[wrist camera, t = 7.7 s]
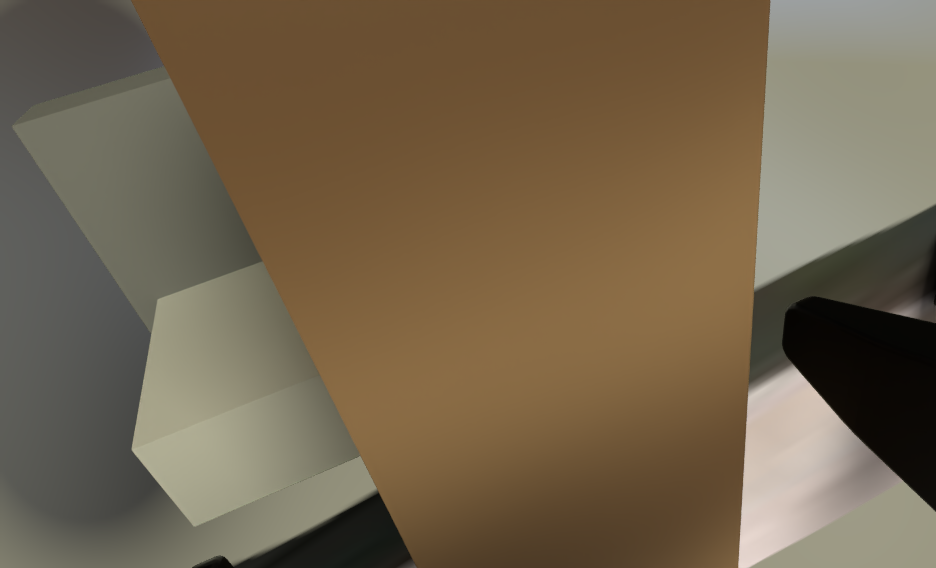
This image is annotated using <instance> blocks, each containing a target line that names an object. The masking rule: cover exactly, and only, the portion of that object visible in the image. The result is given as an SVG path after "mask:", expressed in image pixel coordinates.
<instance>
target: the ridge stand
mask: <svg viewBox="0 0 936 568" xmlns="http://www.w3.org/2000/svg"><path fill="white" fill-rule="evenodd" d="M12 128H13V129H14V131H15V132H16V134H17V135H18V137H19V138H20V140H21V141H22V143H23V144H24V146H25V147H26V149H27V150H28V152H29V153H30V154H31V156H32V158H33V159H34V161H35V162H36V163H37V165H38V166H39V168H40V169H41V171H42V172H43V174H44V175H45V177H46V178H47V180H48V181H49V183H50V184H51V186H52V187H53V189H54V190H55V192H56V193H57V195H58V196H59V198H60V199H61V201H62V202H63V203H64V205H65V207H66V208H67V209H68V211H69V213H70V214H71V215H72V217H73V219H74V220H75V222H76V223H77V224H78V226H79V228H80V229H81V230H82V232H83V233H84V235H85V236H86V238H87V239H88V241H89V242H90V244H91V245H92V247H93V248H94V250H95V251H96V253H97V254H98V256H99V257H100V259H101V260H102V262H103V263H104V265H105V266H106V268H107V269H108V270H109V272H110V274H111V275H112V277H113V278H114V280H115V281H116V283H117V284H118V286H119V287H120V289H121V290H122V291H123V293H124V294H125V296H126V297H127V299H128V300H129V302H130V303H131V305H132V306H133V308H134V309H135V311H136V312H137V314H138V315H139V317H140V318H141V320H142V321H143V323H144V324H145V326H146V327H147V329H148V330H149V332H150V333H151V341H150V346H149V352H148V359H147V364H146V369H145V375H144V382H143V387H142V393H141V398H140V404H139V410H138V416H137V422H136V427H135V433H134V439H133V445H132V451H133V452H134V453H135V455H136V456H137V457H138V458H139V459H140V461H141V462H142V463H143V465H144V466H145V467H146V468H147V469H148V471H149V472H150V473H151V474H152V476H153V477H154V478H155V479H156V481H157V482H158V483H159V484H160V485H161V487H162V488H163V489H164V490H165V492H166V493H167V494H168V495H169V496H170V498H171V499H172V500H173V501H174V503H175V504H176V505H177V506H178V507H179V509H180V510H181V511H182V513H183V514H184V515H185V516H186V517H187V519H188V520H189V521H190V522H191V524H192V525H193V526H194V527H195V526H198V525H200V524H202V523H204V522H207V521H209V520H212V519H214V518H216V517H219V516H221V515H223V514H226V513H228V512H230V511H233V510H235V509H237V508H240V507H242V506H244V505H247V504H249V503H251V502H254V501H256V500H258V499H261V498H263V497H265V496H267V495H270V494H272V493H275V492H277V491H279V490H282V489H284V488H286V487H289V486H291V485H294V484H296V483H298V482H301V481H303V480H305V479H307V478H310V477H312V476H315V475H317V474H319V473H322V472H324V471H326V470H328V469H331V468H333V467H335V466H337V465H340V464H342V463H345V462H347V461H349V460H352V459H354V458H357V457H359V456H360V454H359V452H358V450H357V448H356V446H355V444H354V442H353V440H352V438H351V436H350V434H349V432H348V430H347V428H346V426H345V424H344V422H343V420H342V418H341V416H340V414H339V412H338V410H337V408H336V406H335V404H334V402H333V400H332V398H331V396H330V394H329V392H328V390H327V388H326V386H325V384H324V382H323V380H322V378H321V376H320V374H319V372H318V370H317V368H316V366H315V364H314V362H313V360H312V358H311V356H310V354H309V352H308V350H307V348H306V346H305V344H304V342H303V340H302V338H301V336H300V334H299V332H298V331H297V329H296V327H295V325H294V323H293V321H292V319H291V317H290V315H289V313H288V311H287V309H286V307H285V305H284V303H283V301H282V299H281V297H280V295H279V293H278V291H277V289H276V287H275V285H274V283H273V281H272V279H271V277H270V275H269V273H268V271H267V269H266V267H265V265H264V263H263V261H262V259H261V257H260V255H259V253H258V251H257V249H256V247H255V245H254V243H253V241H252V239H251V237H250V235H249V233H248V231H247V229H246V227H245V225H244V223H243V221H242V219H241V217H240V215H239V213H238V211H237V209H236V207H235V205H234V203H233V201H232V199H231V198H230V196H229V194H228V192H227V190H226V188H225V186H224V184H223V182H222V180H221V178H220V176H219V174H218V172H217V170H216V168H215V166H214V164H213V162H212V160H211V158H210V156H209V154H208V152H207V150H206V148H205V146H204V144H203V142H202V140H201V138H200V136H199V134H198V132H197V130H196V128H195V126H194V124H193V122H192V120H191V118H190V116H189V114H188V112H187V110H186V108H185V106H184V104H183V102H182V100H181V98H180V96H179V94H178V92H177V90H176V88H175V86H174V84H173V82H172V80H171V78H170V76H169V74H168V72H167V70H166V68H165V66H164V67H161V68H157V69H154V70H151V71H147V72H144V73H140V74H137V75H134V76H130V77H127V78H124V79H121V80H117V81H114V82H110V83H107V84H104V85H100V86H97V87H94V88H90V89H87V90H84V91H80V92H77V93H73V94H70V95H67V96H64V97H60V98H57V99H54V100H50V101H47V102H43V103H41V104H37V105H34V106H32V107H31V108H30V109H29V110H28V111H27V112H26V113H25V114H24V115H23V116H22V117H21V118H20V119H19V120H17V121H16V122H15V124H13V125H12Z"/></svg>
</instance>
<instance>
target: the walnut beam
mask: <svg viewBox="0 0 936 568" xmlns="http://www.w3.org/2000/svg"><path fill="white" fill-rule="evenodd" d="M131 1H132V3H133V5H134V7H135V9H136V11H137V13H138V15H139V17H140V19H141V21H142V23H143V25H144V27H145V29H146V30H147V33H148V35H149V37H150V39H151V41H152V42H153V44H154V47H155V49H156V50H157V52H158V55H159V57H160V59H161V60H162V62H163V64H164V66H165V68H166V70H167V72H168V74H169V76H170V78H171V80H172V82H173V84H174V86H175V88H176V90H177V92H178V94H179V96H180V98H181V100H182V102H183V104H184V106H185V108H186V110H187V112H188V114H189V116H190V118H191V120H192V122H193V124H194V126H195V128H196V130H197V132H198V134H199V136H200V138H201V140H202V142H203V144H204V146H205V148H206V150H207V152H208V154H209V156H210V158H211V160H212V162H213V164H214V166H215V168H216V170H217V172H218V174H219V176H220V178H221V180H222V182H223V184H224V186H225V188H226V190H227V192H228V194H229V196H230V198H231V199H232V201H233V203H234V205H235V207H236V209H237V211H238V213H239V215H240V217H241V219H242V221H243V223H244V225H245V227H246V229H247V231H248V233H249V235H250V237H251V239H252V241H253V243H254V245H255V247H256V249H257V251H258V253H259V255H260V257H261V259H262V261H263V263H264V265H265V267H266V269H267V271H268V273H269V275H270V277H271V279H272V281H273V283H274V285H275V287H276V289H277V291H278V293H279V295H280V297H281V299H282V301H283V303H284V305H285V307H286V309H287V311H288V313H289V315H290V317H291V319H292V321H293V323H294V325H295V327H296V329H297V331H298V332H299V334H300V336H301V338H302V340H303V342H304V344H305V346H306V348H307V350H308V352H309V354H310V356H311V358H312V360H313V362H314V364H315V366H316V368H317V370H318V372H319V374H320V376H321V378H322V380H323V382H324V384H325V386H326V388H327V390H328V392H329V394H330V396H331V398H332V400H333V402H334V404H335V406H336V408H337V410H338V412H339V414H340V416H341V418H342V420H343V422H344V424H345V426H346V428H347V430H348V432H349V434H350V436H351V438H352V440H353V442H354V444H355V446H356V448H357V450H358V452H359V454H360V456H361V457H362V460H363V461H364V463H365V465H366V467H367V469H368V471H369V473H370V475H371V477H372V479H373V481H374V483H375V485H376V487H377V489H378V491H379V493H380V495H381V497H382V499H383V501H384V503H385V505H386V507H387V509H388V511H389V513H390V515H391V517H392V519H393V521H394V523H395V525H396V527H397V529H398V531H399V533H400V535H401V537H402V539H403V541H404V543H405V545H406V547H407V549H408V551H409V553H410V555H411V557H412V559H413V561H414V563H415V565H416V567H417V568H738V560H739V543H740V525H741V507H742V490H743V472H744V455H745V437H746V420H747V402H748V384H749V367H750V349H751V332H752V314H753V296H754V278H755V259H756V244H757V225H758V207H759V190H760V173H761V156H762V138H763V120H764V103H765V85H766V67H767V50H768V33H769V13H770V0H131Z"/></svg>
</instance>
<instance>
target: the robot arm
mask: <svg viewBox="0 0 936 568" xmlns="http://www.w3.org/2000/svg"><path fill="white" fill-rule="evenodd" d="M934 305H935V306H936V295H935V299H934ZM782 346H783V350H784V352H785V354H786V356H787V357H788V359H789V360H790V361H791V362H792V364H793V365H794V366H795V367H796V368H797V369H798V371H799V372H800V373H801V374H802V375H803V376H804V377H805V379H806V380H807V381H808V382H809V383H810V384H811V385H812V387H813V388H814V389H815V390H816V391H817V392H818V394H819V395H820V396H821V397H822V398H823V399H824V400H825V402H826V403H827V404H828V405H829V406H830V407H831V408H832V410H833V411H834V412H835V413H836V414H837V415H838V417H839V418H840V419H841V420H842V421H843V422H844V423H845V424H846V425H847V427H848V428H849V429H850V430H851V431H852V432H853V433H854V434H855V435H856V436H857V437H858V438H859V439H860V440H861V441H862V442H863V443H864V444H865V445H866V446H867V447H868V448H869V449H870V450H871V451H872V452H873V453H875V454H876V455H877V456H878V457H879V458H880V459H881V460H882V461H883V462H884V463H885V464H886V465H887V466H888V467H889V468H890V469H891V470H892V471H893V472H895V473H896V474H897V475H898V476H899V477H900V478H901V479H902V480H903V481H904V482H905V483H906V484H907V485H908V486H909V487H910V488H911V489H912V490H913V491H915V492H916V493H917V494H918V495H919V496H920V497H921V498H922V499H923V500H924V501H925V502H926V503H927V504H928V505H929V506H930V507H931V508H933V510H935V511H936V323H932V322H928V321H923V320H919V319H915V318H910V317H906V316H901V315H897V314H893V313H888V312H884V311H879V310H875V309H870V308H866V307H862V306H857V305H853V304H848V303H844V302H839V301H835V300H831V299H826V298H822V297H817V296H810V297H806V298H804V299H801V300H799V301H797V302H795V303H792V304H790V305H789V306H788V307H787V309H786V311H785V319H784V328H783V338H782ZM192 568H234V567H233V566H232V565H231V563H230V562H229V561H228V560H227V559H226V558H225V557H223V556H216V557H213V558H211V559H209V560H206V561H204V562H202V563H200V564H197V565H195V566H194V567H192Z"/></svg>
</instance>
